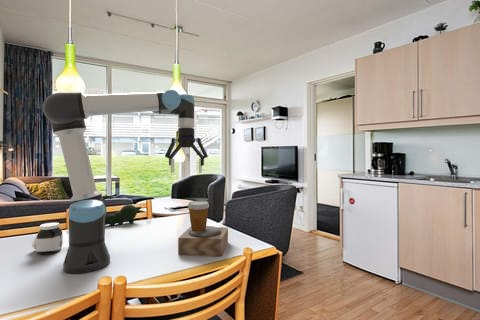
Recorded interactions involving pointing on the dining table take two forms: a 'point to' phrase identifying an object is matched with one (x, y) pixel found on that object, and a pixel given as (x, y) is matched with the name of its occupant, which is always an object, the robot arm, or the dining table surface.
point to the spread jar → (48, 239)
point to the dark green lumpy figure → (121, 214)
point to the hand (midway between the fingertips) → (186, 172)
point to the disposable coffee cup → (198, 215)
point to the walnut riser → (203, 242)
